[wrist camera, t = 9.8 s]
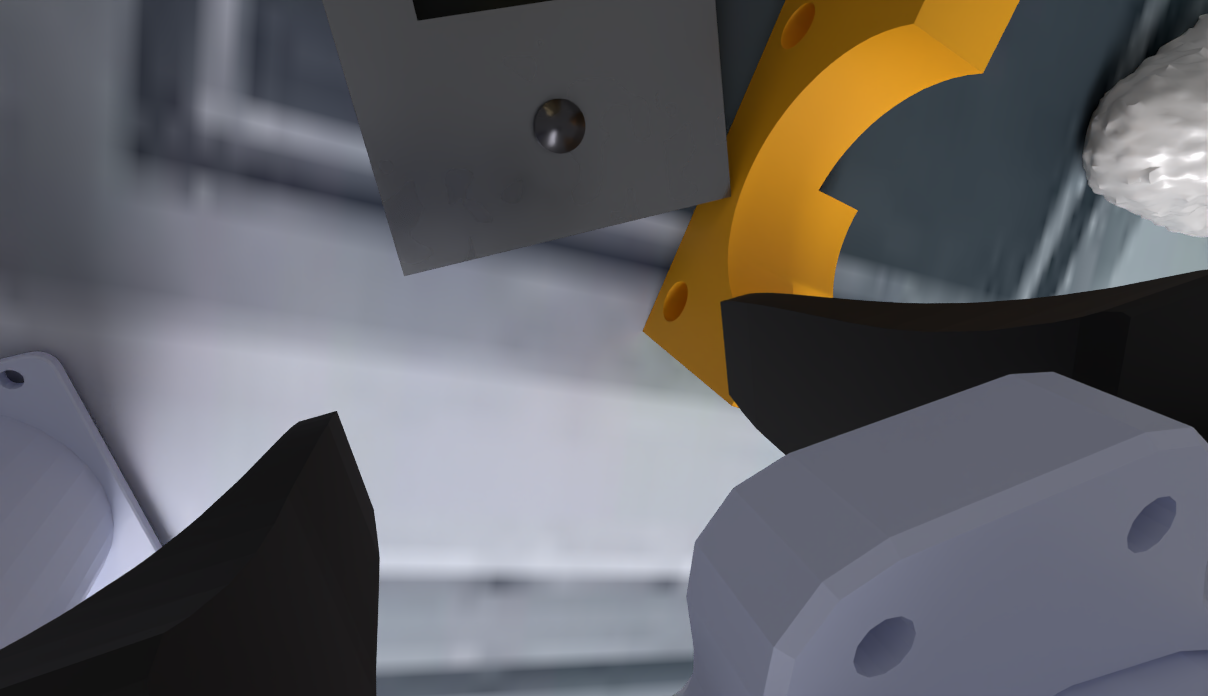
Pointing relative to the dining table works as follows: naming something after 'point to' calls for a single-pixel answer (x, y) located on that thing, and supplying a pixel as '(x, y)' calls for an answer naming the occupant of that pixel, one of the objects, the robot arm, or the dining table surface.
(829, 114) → the pipe clamp
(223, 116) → the dining table surface
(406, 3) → the metal plate with hole
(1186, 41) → the sitting furry creature
